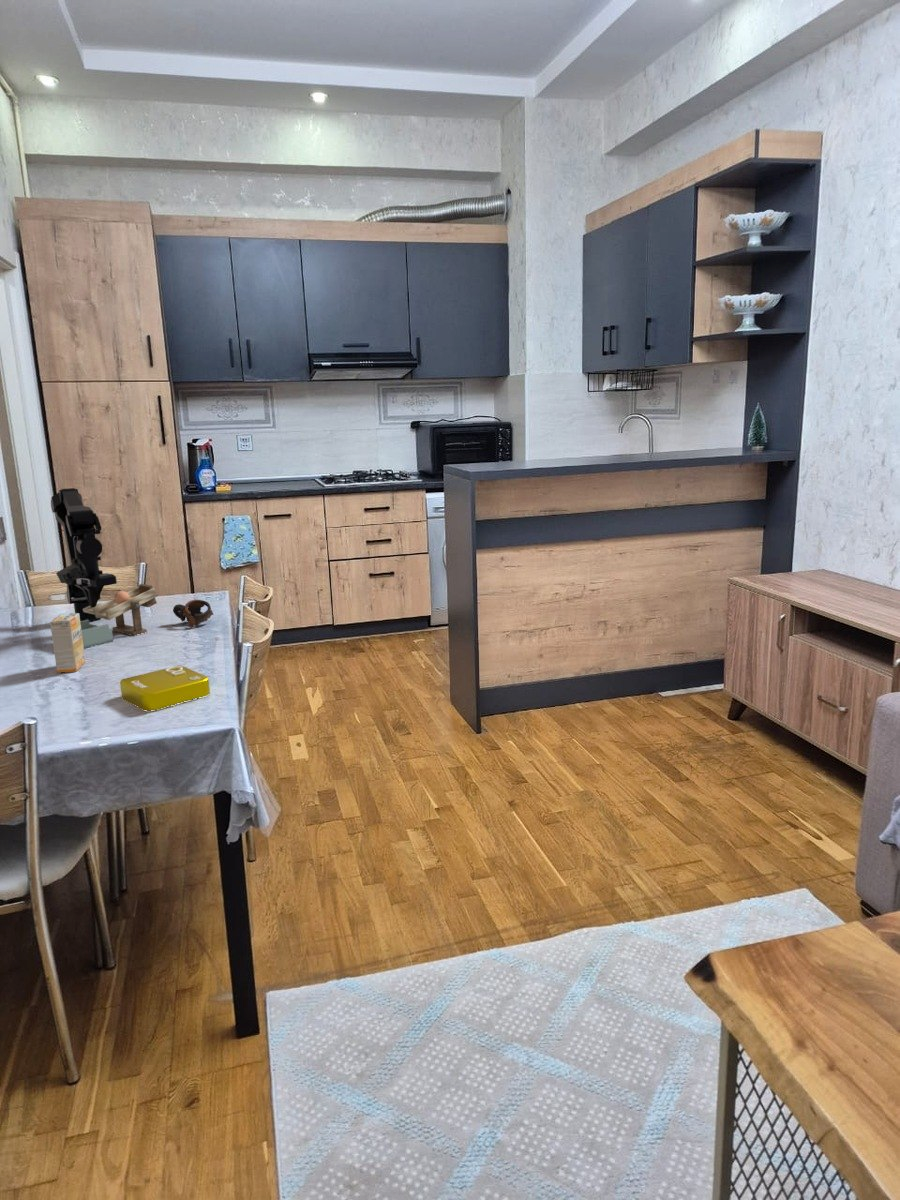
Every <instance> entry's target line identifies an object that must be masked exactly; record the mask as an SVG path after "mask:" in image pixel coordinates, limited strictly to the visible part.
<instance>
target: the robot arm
mask: <svg viewBox="0 0 900 1200" xmlns="http://www.w3.org/2000/svg"><path fill="white" fill-rule="evenodd" d="M82 497H83V496H82V494H81V493H79V490H78V488H75V487H70V488H68V487H67V488H61V489H59V490H58V492H57V493H56V494H54V495H52V496H51V499H50V507H51V512H52V513H53V514H54V516H55V520H56V521H57V522H58V523H59V524H60V525H61V526H62V528H63V532H64V538H65V545H66V548H67V554H68V558H69V563H70V565H67V566H66V567H63V568H62V569H60V570H59V571H57V572H56V576H57V578H58V580H59V581H60V583H61V584H66V599H67V602H68V604H70V605H71V604H73V608H74V613H79V616H80V621H84V620H89V622H92V621H97V620H101V619H102V618H98V617H96V616H95V615H94V614H90V613H85V612H83V609H84V608H86V607H88V606H91V607H96V604H98V601H100V600H101V593H102V591H103V589H104V587H105V586H106V587H107V586H111V585H116V584H117V583H118V580H117V576H116V575H115V574H114V573H113V574H112V573H107V572H106V573H103V570H100V566H99V561H102V557H101V556H100V555H101V553H103V544H102V543H101V541H100V540H99V539H98V538H96V535H101V534H102V533H101V531H102V525H101V521H100V519H99V516H97V513H96V512H94V511H93V509H92V508H91V507H89V506H85V505H84V501H83V498H82Z"/></svg>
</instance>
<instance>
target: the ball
mask: <svg viewBox="0 0 900 1200" xmlns="http://www.w3.org/2000/svg"><path fill="white" fill-rule="evenodd" d="M127 592H128V591H125V590H120V591H119V590H118V591H117V592H116V593H115V595H114V598H113V599H115V602H116V603H117V604H121V603H123V602H125V601H127V600H129V595H128V593H127Z"/></svg>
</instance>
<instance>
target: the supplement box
mask: <svg viewBox="0 0 900 1200" xmlns="http://www.w3.org/2000/svg"><path fill="white" fill-rule="evenodd" d="M49 624H50V625H49V626H50V632H51V638H52V639H51V640H52V644H53V651H54V659H55V667H56V673H58V674H62V673H61V672H65V673H74V672H75V673H76V672H77V671H78V670H79V669H80V668H81V666H83V665H84V664H85V663H86V656H85V649H84V647H83V639H82V631H81V624H80V616H79V613H75V612H74V613H63V614H59V615H58V616H56V617H55V618H53V620H51V621H49Z"/></svg>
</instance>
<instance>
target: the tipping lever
mask: <svg viewBox="0 0 900 1200" xmlns="http://www.w3.org/2000/svg"><path fill="white" fill-rule="evenodd" d="M137 586H138V587H135V588H133V589H131V590H129V591H126V592H127V593H128V595H129V600H127V601H125V602H123V603H121V604H117V603H116V602H115V599H114V598H112V599H111V600H108V601H106V602H104V603H102V604H101V603H97V604H96V607H91V606H88V607H86V608H84V609H83V612H85V613H90V614H94V615H95V616H96V617H98V618H101V619H103V620H108V621H110V620H113V619H116V618H115V617H117V616H119V615H121V614H123V615H124V614H125V613H127V612H128V611H132V610H131V602H133V601H139V605H140V607H145V608H150V607H152V606H154V605H156V604H157V603H158V602H157V600H156V598H157V597H158V595H157V592H156V589H155V588H154V587H153V585H150V584H144V583H140V584H138V585H137Z"/></svg>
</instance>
